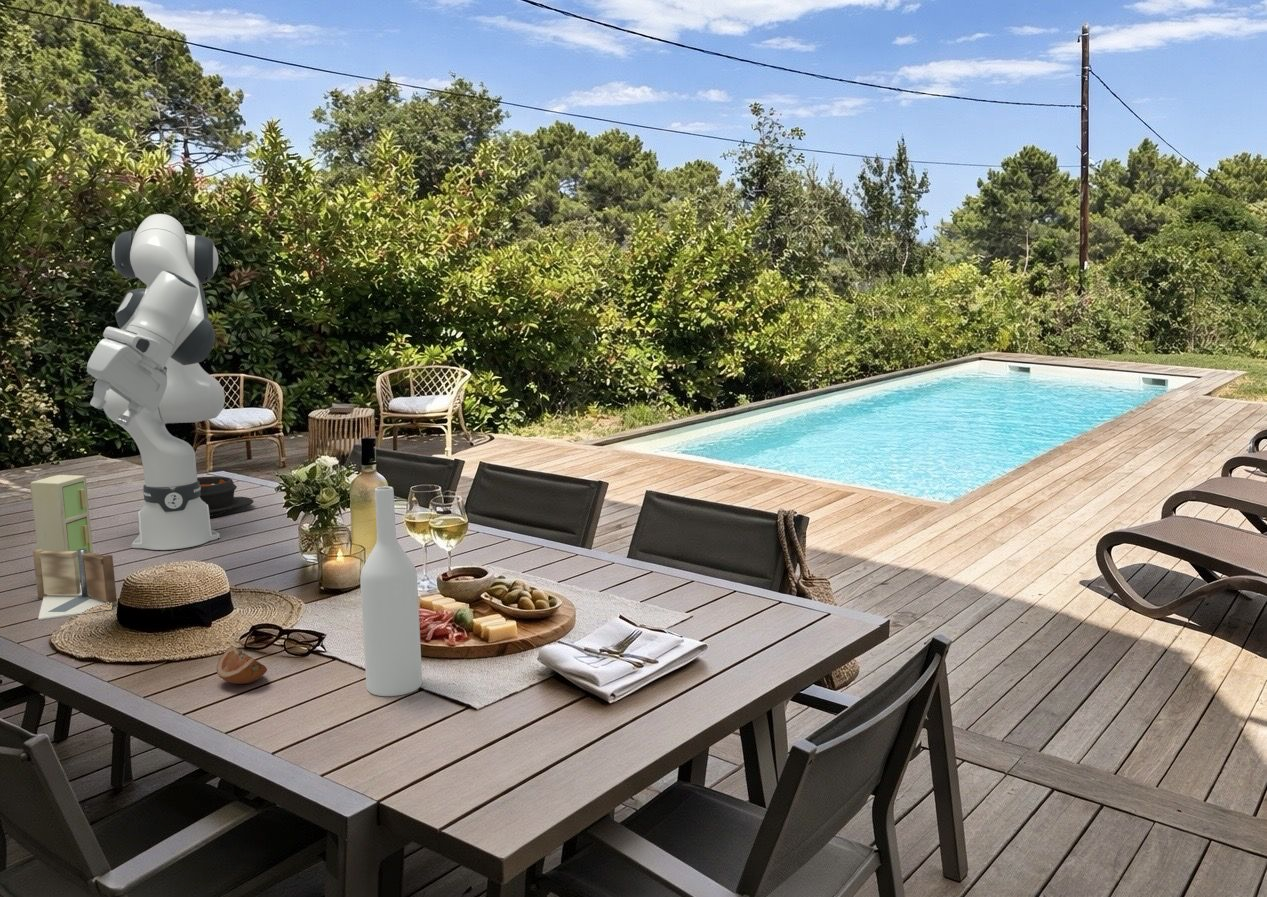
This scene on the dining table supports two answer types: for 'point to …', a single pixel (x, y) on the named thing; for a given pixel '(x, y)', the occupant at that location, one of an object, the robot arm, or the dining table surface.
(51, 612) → the board
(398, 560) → the bottle
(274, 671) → the dining table surface
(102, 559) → the fence panel
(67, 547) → the toy refrigerator
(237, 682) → the fruit slice
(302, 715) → the dining table surface
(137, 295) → the robot arm
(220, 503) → the casserole
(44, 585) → the fence fixed section
